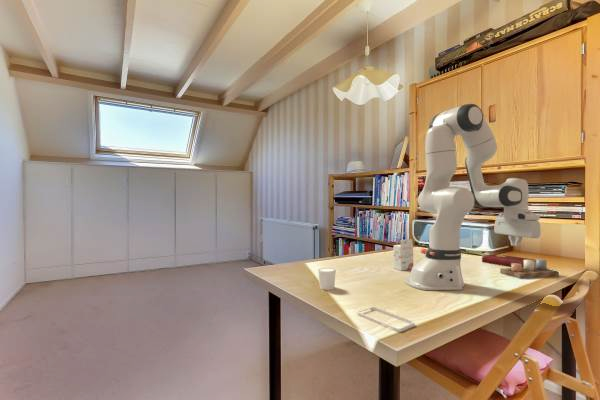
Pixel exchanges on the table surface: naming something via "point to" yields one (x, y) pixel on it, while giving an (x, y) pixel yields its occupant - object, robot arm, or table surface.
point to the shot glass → (327, 278)
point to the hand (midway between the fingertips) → (515, 246)
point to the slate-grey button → (541, 264)
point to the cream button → (528, 265)
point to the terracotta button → (516, 267)
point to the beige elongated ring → (388, 315)
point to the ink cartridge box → (403, 255)
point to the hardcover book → (504, 260)
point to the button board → (529, 273)
